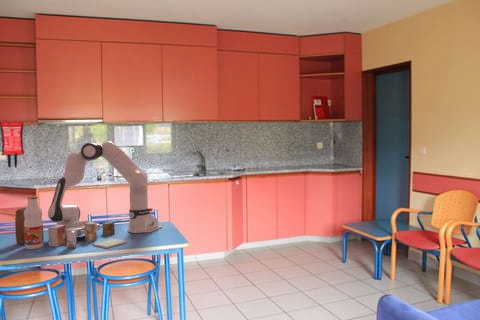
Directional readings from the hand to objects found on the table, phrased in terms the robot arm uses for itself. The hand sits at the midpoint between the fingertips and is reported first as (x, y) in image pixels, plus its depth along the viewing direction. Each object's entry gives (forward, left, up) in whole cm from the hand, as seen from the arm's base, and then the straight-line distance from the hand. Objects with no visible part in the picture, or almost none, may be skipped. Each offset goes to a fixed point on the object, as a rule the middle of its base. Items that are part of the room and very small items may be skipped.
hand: (91, 231), depth 242 cm
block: (+23, -29, -6) cm, 37 cm away
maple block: (0, -1, -6) cm, 6 cm away
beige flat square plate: (0, +16, -6) cm, 17 cm away
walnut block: (-16, -5, -6) cm, 18 cm away
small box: (+16, -9, -6) cm, 19 cm away
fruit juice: (+26, -15, -6) cm, 31 cm away
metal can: (+16, +4, -6) cm, 17 cm away
